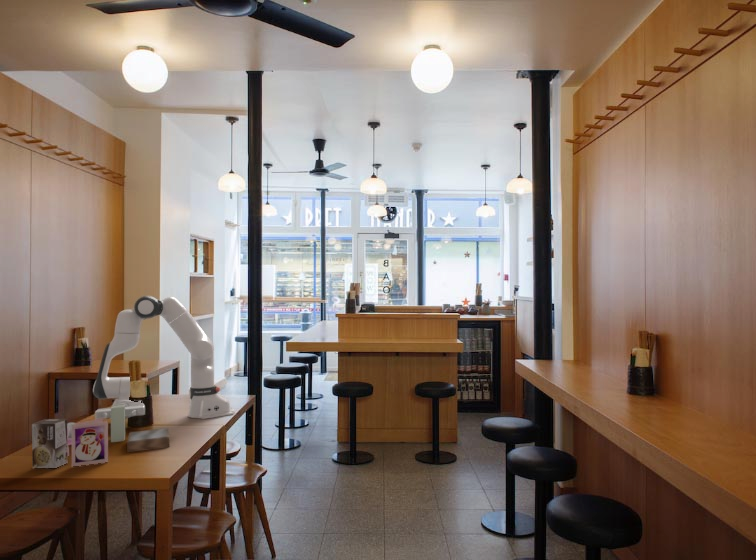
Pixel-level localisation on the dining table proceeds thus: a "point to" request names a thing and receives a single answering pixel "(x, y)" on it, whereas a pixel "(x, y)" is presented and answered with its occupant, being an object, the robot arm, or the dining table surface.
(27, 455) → the dining table surface
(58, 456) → the coffee box
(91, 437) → the greeting card
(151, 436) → the walnut plinth
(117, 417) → the sage pillar
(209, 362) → the robot arm
